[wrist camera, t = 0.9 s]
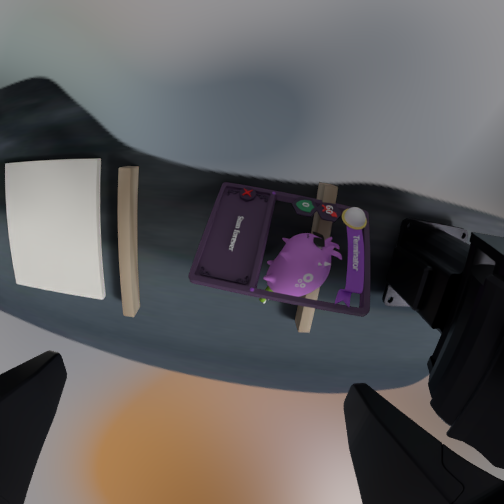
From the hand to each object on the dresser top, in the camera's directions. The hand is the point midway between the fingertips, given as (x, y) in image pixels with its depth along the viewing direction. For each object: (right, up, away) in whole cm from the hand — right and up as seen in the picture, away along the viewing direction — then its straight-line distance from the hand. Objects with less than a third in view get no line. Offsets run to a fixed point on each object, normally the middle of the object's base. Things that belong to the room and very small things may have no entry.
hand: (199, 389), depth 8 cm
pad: (-13, +6, +11) cm, 18 cm away
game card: (-1, +4, +10) cm, 11 cm away
